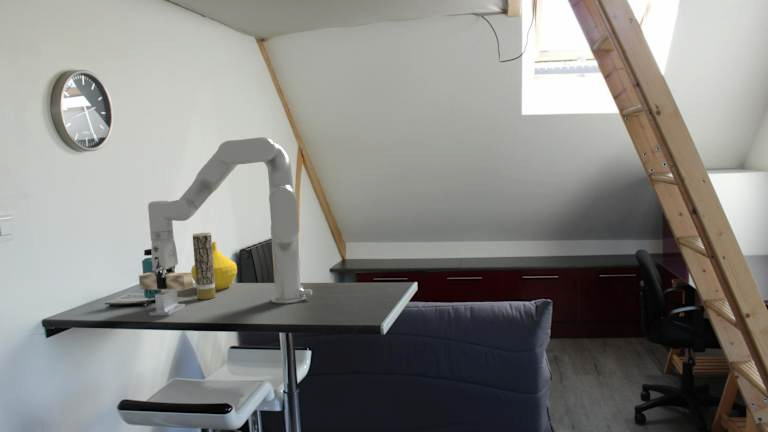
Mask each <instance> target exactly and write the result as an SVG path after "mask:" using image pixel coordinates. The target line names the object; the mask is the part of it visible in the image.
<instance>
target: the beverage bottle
mask: <svg viewBox="0 0 768 432" xmlns="http://www.w3.org/2000/svg"><path fill="white" fill-rule="evenodd" d="M151 249H152V248H147V249H144V251H143V253H144V254H143V256H150V257H146V258H144V259H143V260H142V261H141V268H142V274H145V273H154V272H153V271H152V268H153V266H152V253H151ZM159 269H161V268H159ZM162 291H163V290H147V289H143V295H144V298H145V299H146V298H148V300H149V299H151V300H152V299H155V295H156V294H158V293H160V292H162Z"/></svg>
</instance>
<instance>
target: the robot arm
mask: <svg viewBox="0 0 768 432" xmlns="http://www.w3.org/2000/svg"><path fill="white" fill-rule="evenodd" d="M254 163H255V164H256V163H264V164H265V165H266V169H267V175H268V177H267V178H268V185H269V186H268V187H269V189H268V190H269V194H268V202H269V212H270V236H271V249H272V264H273V280H274V281H273V282H274V283H273V284H274V295H273V296H272V297H270V301H271V302H272V303H274V304H294V303H298V302H303V301H304V300H305V299H307V298H306V297H307V296H312V295H313V290H312V289H310V288H308V289H305V288H304V285H301V272H300V271H301V269H300V268H301V266H300V250H299V249H300V248H299V239H298V238H299V232H300V227H299V226H300V224H299V210H298V198H297V195H296V192H295V189H294V183H293V182H294V181H293V174H292V173H293V171H292V165H291V161H290V158H289V156H288V154H287V153H286V151H285V149H283V148H282V147H281V146H280V145H279V144H277V143H276V142H274V141H273V140H272V139H271V138H268V137H266V136H261V137H252V138H243V139H234V140H233V139H232V140H226V141H223V142H221V144H220V145H219V146H218V148H217V150H216V151H215V152H214V153H213V155H212V156H211V157H210V158H209V160H207V162H206V163H205V164H203V166H202V168H200V170H199V171H198V173H197V174H196V177H194V178H195V179H194V181H192V183H191V184H190V186H189V187H188V188H187V190H186V191H184V193H183V194H182V196H180V197H179V199H176V200H171V201H169V200H154V201H151V202H148V204H147V210H148V221H149V234H150V241H151V248H150V249H151V253H152V255H151V257H152V266H153V268H152V271H153V272H154V274H155V277H156V279H157V289H166V288H167V286H166V277H165V273H176V271H175V269H176V266H178V262H179V260H178V254H177V246H176V242H175V238H174V237H175V236H174V227H173V221H175V222H179V221H180V222H183V221H188V220H189V219H190V218H192V217H193V216H194V215H195V214H196V213H197V211H198V210H199V209H200V208H201V207H202V205H204V203H205V202H206V201H207V200H208V199H209V198H210V197H211V195H212V194H213V193H214V192H216V190H217V189H218V188H220V186H221V185H222V184H223V183H224V181H225V180H226V179H227V178H228V176H229V175H230V174H231V173H233V170H235V168H236V167H237V166H238V165H239V166H240V165H247V164H254ZM159 268H160V269H159Z"/></svg>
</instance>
